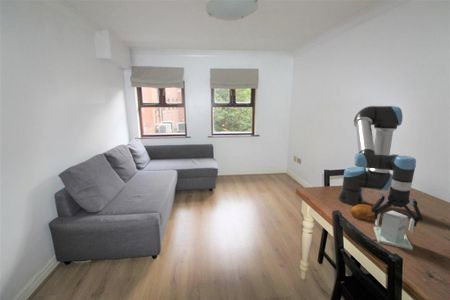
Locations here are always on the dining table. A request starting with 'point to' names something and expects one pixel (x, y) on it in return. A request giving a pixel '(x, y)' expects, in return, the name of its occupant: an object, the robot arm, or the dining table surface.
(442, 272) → the dining table surface
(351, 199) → the robot arm
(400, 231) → the supplement box
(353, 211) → the croissant
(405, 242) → the pale green square tray
